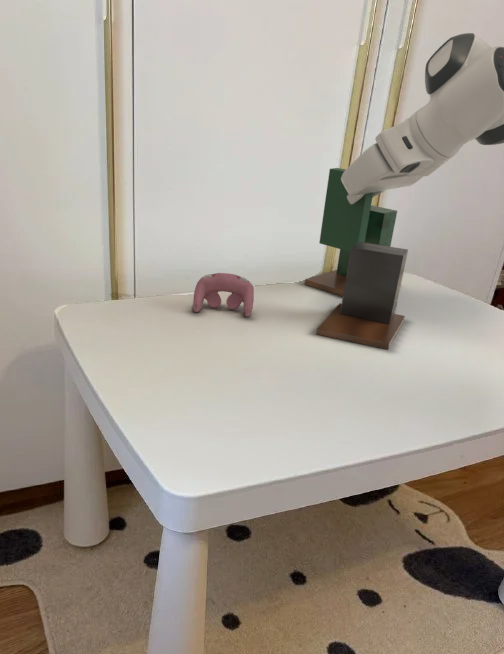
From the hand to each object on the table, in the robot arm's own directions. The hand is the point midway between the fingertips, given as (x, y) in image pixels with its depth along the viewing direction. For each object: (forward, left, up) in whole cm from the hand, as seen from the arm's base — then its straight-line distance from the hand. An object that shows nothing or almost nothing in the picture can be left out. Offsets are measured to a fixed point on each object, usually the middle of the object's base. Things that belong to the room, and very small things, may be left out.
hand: (356, 199), depth 109 cm
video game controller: (+17, +19, -17) cm, 31 cm away
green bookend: (-1, -5, -16) cm, 17 cm away
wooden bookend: (-5, +17, -16) cm, 24 cm away
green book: (+2, -1, -9) cm, 9 cm away
